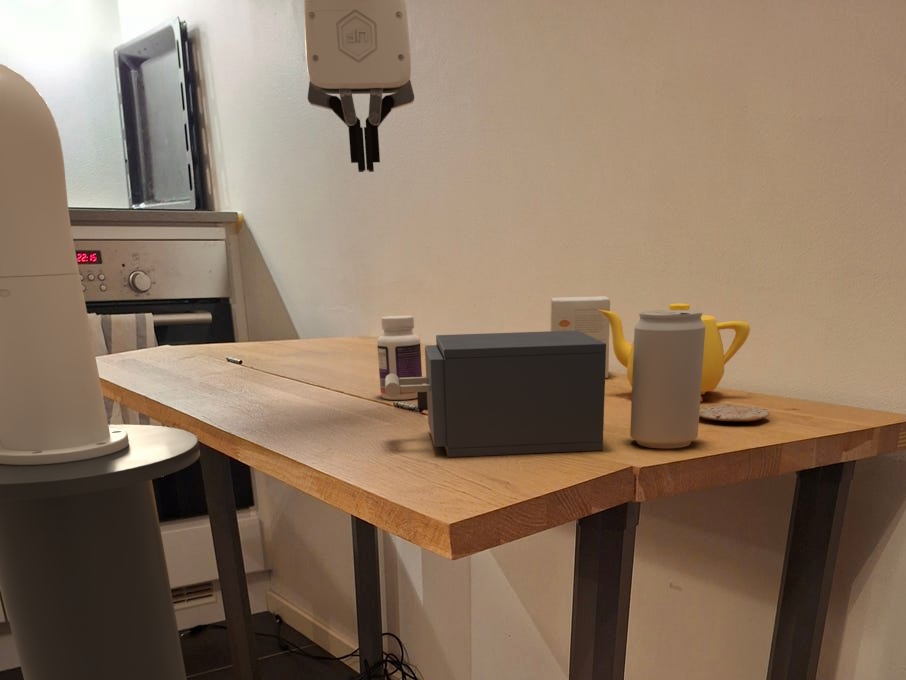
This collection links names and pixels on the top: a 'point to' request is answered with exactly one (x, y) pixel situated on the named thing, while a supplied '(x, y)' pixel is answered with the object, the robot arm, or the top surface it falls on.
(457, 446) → the cabinet
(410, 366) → the pill bottle
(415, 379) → the drawer
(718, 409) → the flatbread
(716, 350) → the teapot
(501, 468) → the top surface
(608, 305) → the small box
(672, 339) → the beverage can
